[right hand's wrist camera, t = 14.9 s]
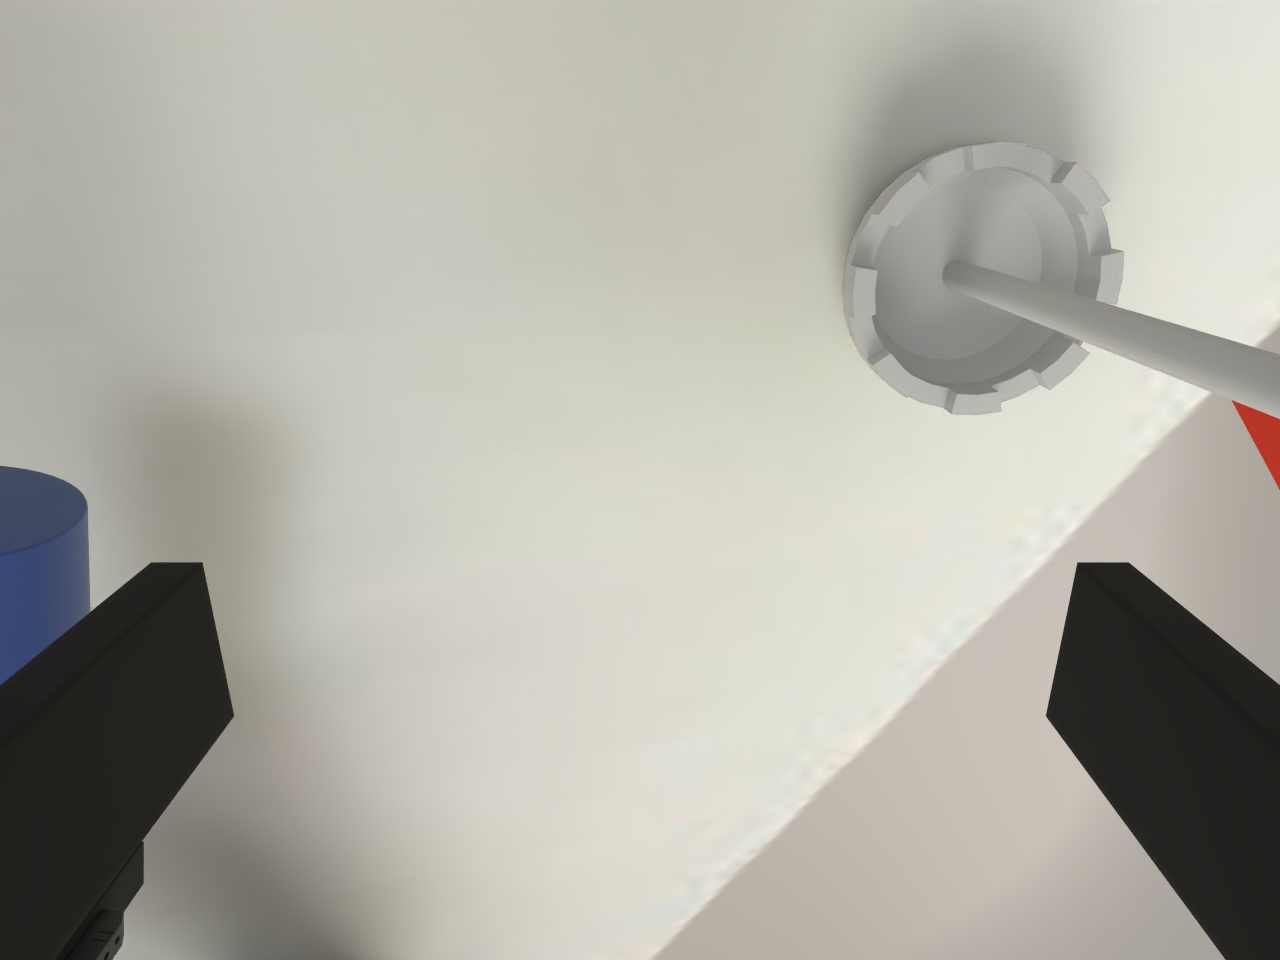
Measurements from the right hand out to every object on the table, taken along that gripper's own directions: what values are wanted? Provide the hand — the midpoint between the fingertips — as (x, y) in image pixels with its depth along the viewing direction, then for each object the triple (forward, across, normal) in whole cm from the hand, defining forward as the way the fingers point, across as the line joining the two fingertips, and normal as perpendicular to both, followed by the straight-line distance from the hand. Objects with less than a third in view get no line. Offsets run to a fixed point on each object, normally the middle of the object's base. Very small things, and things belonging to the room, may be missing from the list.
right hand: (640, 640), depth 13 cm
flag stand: (+36, +17, +1) cm, 40 cm away
